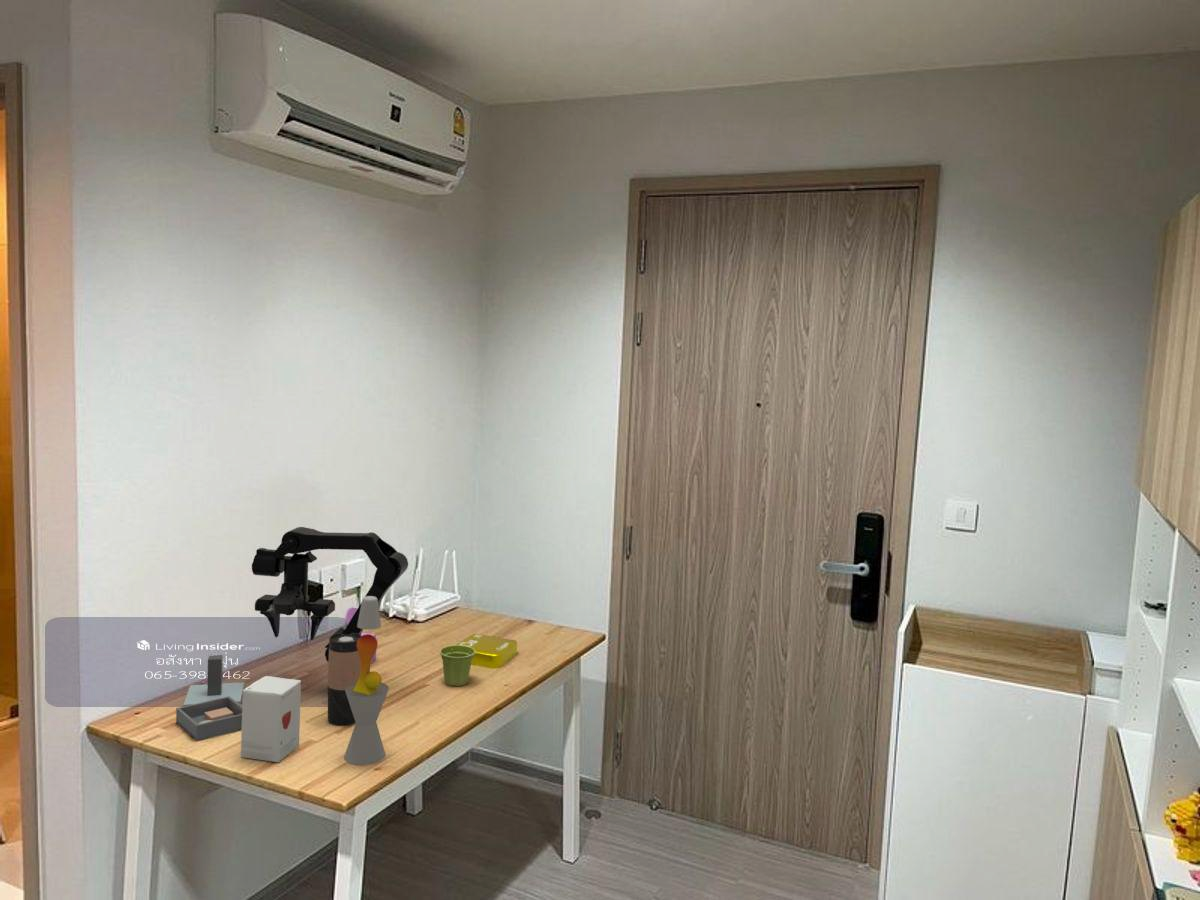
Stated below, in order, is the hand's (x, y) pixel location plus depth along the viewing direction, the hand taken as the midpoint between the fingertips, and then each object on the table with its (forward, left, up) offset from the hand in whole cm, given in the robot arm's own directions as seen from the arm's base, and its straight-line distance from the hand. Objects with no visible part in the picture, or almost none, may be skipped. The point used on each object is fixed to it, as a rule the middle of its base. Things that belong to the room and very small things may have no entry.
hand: (294, 638), depth 226 cm
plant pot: (-39, -13, -13) cm, 43 cm away
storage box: (+8, +25, -13) cm, 29 cm away
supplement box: (-10, +35, -13) cm, 39 cm away
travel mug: (-19, +16, -13) cm, 28 cm away
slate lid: (+15, +12, -13) cm, 23 cm away
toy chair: (-9, -22, -13) cm, 27 cm away
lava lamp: (-30, +33, -13) cm, 47 cm away
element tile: (-42, -34, -14) cm, 56 cm away
